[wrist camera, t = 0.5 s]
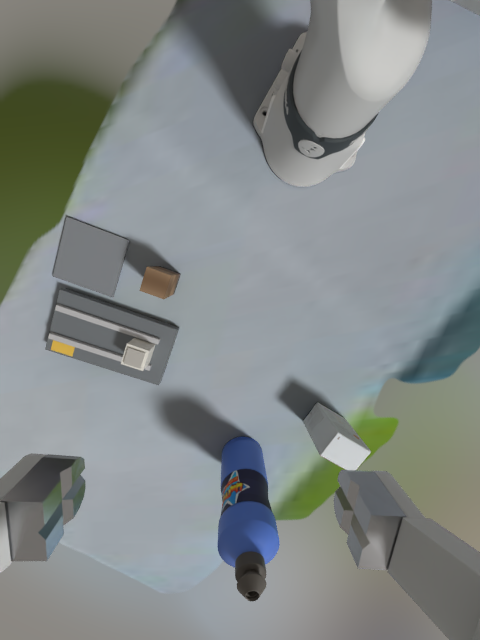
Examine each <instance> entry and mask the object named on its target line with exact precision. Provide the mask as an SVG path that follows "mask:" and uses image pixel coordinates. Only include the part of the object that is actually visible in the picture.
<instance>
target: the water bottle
mask: <svg viewBox="0 0 480 640" xmlns="http://www.w3.org/2000/svg"><path fill="white" fill-rule="evenodd" d="M221 493H222V501H223V504H222V511H221V517H220V520H219V526H218V552H219V554H220V556H221V558H222V559H223V560H224V561H225V562H226V563H227V564H229V565H230V566H233V567H235V576H236V580H237V582H238V583H237V589H238V591H239V592H240V593H241V594H242V595H243V596H244V597H245V598H246V599H247V600H248V601H255V600H257V599H258V598H259V597H260V595H261V594H262V592H263V591H264V589H265V587H266V581H265V578H266V568H265V564H267V563H268V562H270V561H271V560H272V559H273V558H274V556H275V555H276V553H277V551H278V549H279V537H278V531H277V526H276V520H275V517H274V515H273V513H272V510H271V507H270V503H269V500H268V482H267V476H266V470H265V465H264V459H263V454H262V449H261V447H260V445H259V444H258V442H257V441H255V440H254V439H252V438H249V437H236V438H234V439H232V440H230V441H229V442H228V443H227V444H226V445H225V446H224V448H223V451H222V465H221Z"/></svg>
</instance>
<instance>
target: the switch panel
mask: <svg viewBox="0 0 480 640" xmlns="http://www.w3.org/2000/svg"><path fill="white" fill-rule="evenodd" d="M178 330H179V327H176V326H173V325H170V324H168V323H165V322H162V321H159V320H156V319H153V318H150V317H147V316H144V315H142V314H139V313H136V312H133V311H130V310H127V309H124V308H121V307H119V306H116V305H113V304H110V303H107V302H104V301H101V300H98V299H96V298H93V297H90V296H87V295H84V294H81V293H78V292H75V291H73V290H70V289H67V288H66V289H60V290H59V294H58V299H57V303H56V307H55V311H54V315H53V319H52V323H51V328H50V332H49V336H48V340H47V344H46V348H45V349H46V350H49V351H52V352H55V353H59V354H62V355H65V356H68V357H71V358H74V359H77V360H81V361H84V362H87V363H90V364H93V365H96V366H99V367H103V368H106V369H109V370H112V371H115V372H118V373H122V374H125V375H128V376H131V377H134V378H137V379H140V380H144V381H147V382H150V383H153V384H156V385H159V384H160V382H161V380H162V377H163V374H164V372H165V369H166V366H167V363H168V360H169V357H170V354H171V351H172V348H173V345H174V342H175V339H176V336H177V333H178ZM135 337H136V338H139V339H142V340H145V341H148V342H151V343H154V344H156V345H155V348H154V351H153V354H152V357H151V360H150V363H149V364H148V365H147V367H146V368H145V369H144V370H143V371H141V370H138V369H135V368H132V367H129V366H125V365H122V364H121V361H122V358H123V355H124V352H125V348H126V345H127V343H128V342H130V341H131V340H132V339H134V338H135Z"/></svg>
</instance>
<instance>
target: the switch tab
mask: <svg viewBox="0 0 480 640" xmlns="http://www.w3.org/2000/svg"><path fill="white" fill-rule="evenodd" d="M155 345H156V344H154V343H151V342H148V341H145V340H142V339H139V338H136V337H135V338H134V339H132V340H131V341H130V342H128V343H127V345H126V348H125V352H124V355H123V358H122V361H121V364H122V365H125V366H129V367H132V368H135V369H138V370H141V371H143V370H144V369H145V368H146V367H147V365H148V364H149V363H150V360H151V357H152V354H153V351H154V348H155Z"/></svg>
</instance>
